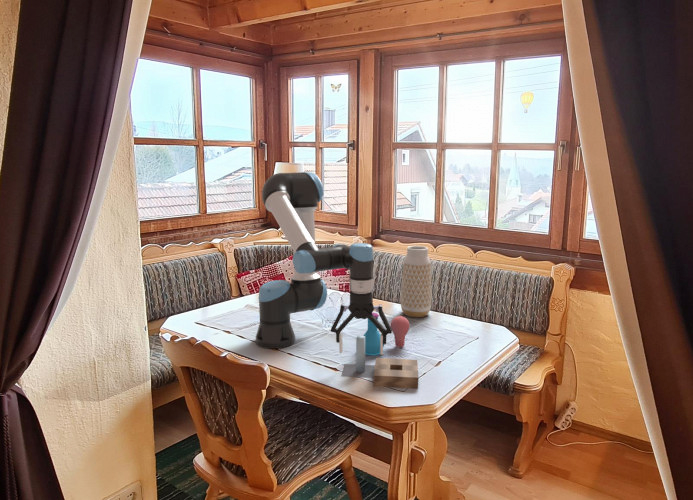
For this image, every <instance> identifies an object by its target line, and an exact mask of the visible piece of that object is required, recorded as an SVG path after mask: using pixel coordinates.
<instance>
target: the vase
mask: <svg viewBox="0 0 693 500" xmlns="http://www.w3.org/2000/svg"><path fill="white" fill-rule="evenodd" d="M406 250H407V251H406V256H405V258H404V260H403V265H402V275H401V276H402V278H401V291H400V308H401V311H402V312H403V314H404V315H405V316H406V317H409V318H424V317H426V316H427V315H428V314H429V313H430V311H431V308H432V261H431V259H430V257H429V248H428V247H427V246H424V245H410V246H407V249H406Z"/></svg>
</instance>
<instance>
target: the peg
mask: <svg viewBox="0 0 693 500" xmlns="http://www.w3.org/2000/svg"><path fill="white" fill-rule="evenodd" d="M355 338H356V339H355V341H356V342H355V343H356V344H355V358H356V359H355V364H356V372H359V373H362V372H365V365H366V354H365V336H363V335H357V336H356V337H355Z"/></svg>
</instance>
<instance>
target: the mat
mask: <svg viewBox="0 0 693 500" xmlns="http://www.w3.org/2000/svg"><path fill="white" fill-rule="evenodd" d="M374 369H375V364H365V372H362V373H359V372H356V363H355V364H352V363H344V364H343V367H342V371H341V374H340V375H341V377H347V378H364V379H365V378H367V379H369V378H370V379H374Z"/></svg>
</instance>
